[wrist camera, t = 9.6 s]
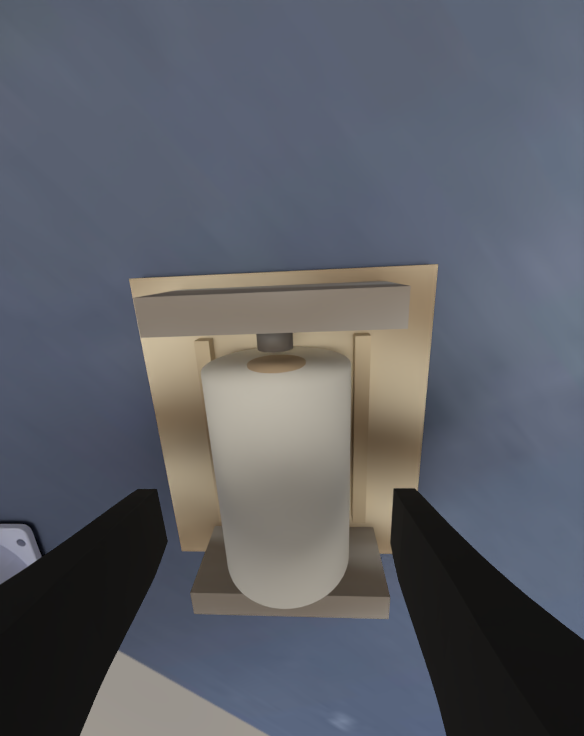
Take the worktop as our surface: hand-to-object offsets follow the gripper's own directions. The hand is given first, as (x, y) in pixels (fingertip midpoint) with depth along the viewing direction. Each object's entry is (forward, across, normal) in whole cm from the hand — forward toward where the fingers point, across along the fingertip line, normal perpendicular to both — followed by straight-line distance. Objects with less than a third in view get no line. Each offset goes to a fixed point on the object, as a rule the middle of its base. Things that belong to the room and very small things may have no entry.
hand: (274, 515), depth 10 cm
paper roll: (+5, 0, 0) cm, 5 cm away
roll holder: (+6, 0, 0) cm, 6 cm away
